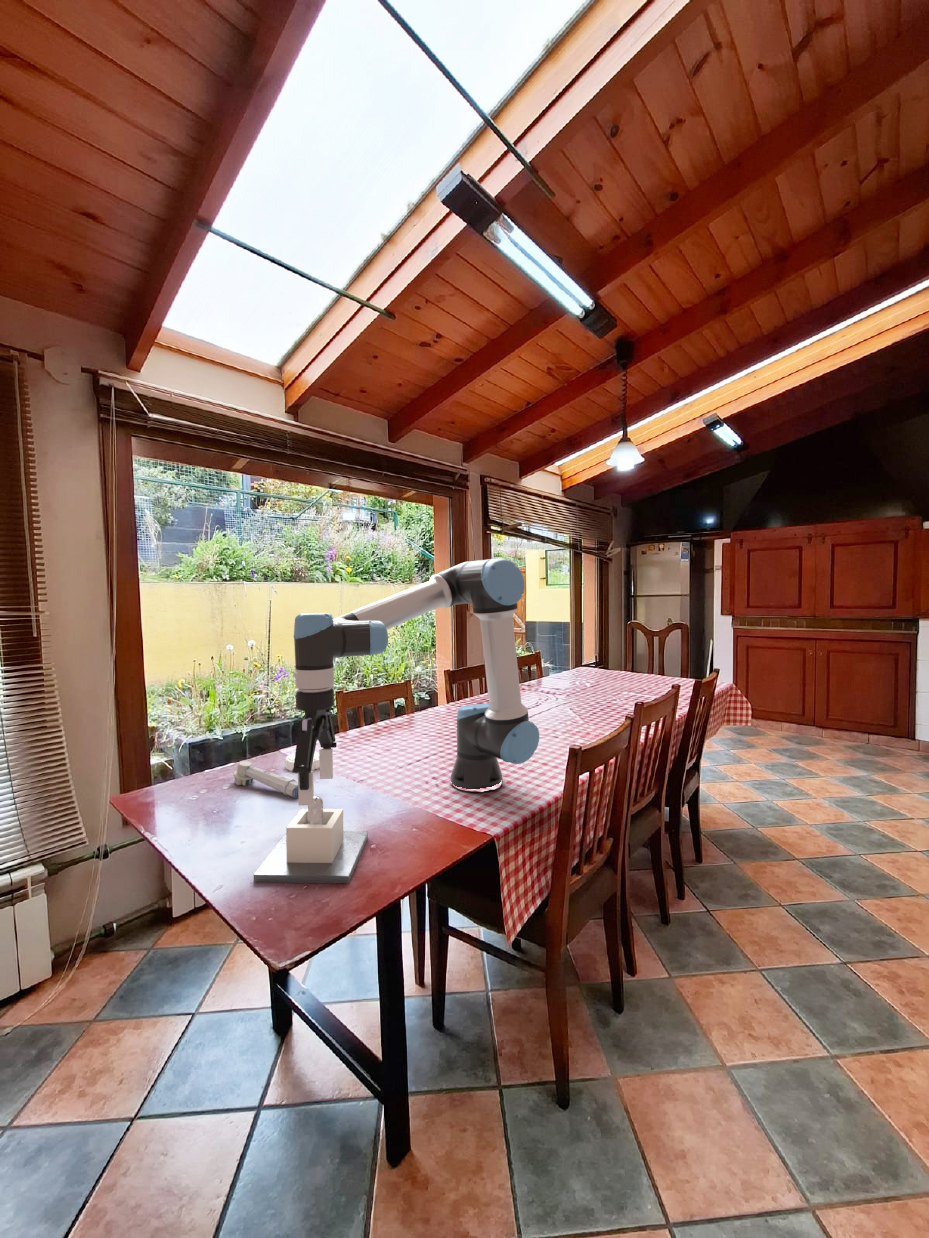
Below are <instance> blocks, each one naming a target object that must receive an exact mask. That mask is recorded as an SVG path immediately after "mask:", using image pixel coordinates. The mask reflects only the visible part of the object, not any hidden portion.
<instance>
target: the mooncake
mask: <svg viewBox="0 0 929 1238" xmlns="http://www.w3.org/2000/svg"><path fill="white" fill-rule="evenodd" d="M294 760H295V752H293V753H290V754H288V755H287V756H286V757H285V761H284V763H285V764H284V767H285V769H286V770H288V771H290V772H293V768H294ZM302 766H304V765H302ZM318 769H320V762H319V751H316V750H315V753H314V758H313V763H312V768H311V771H315V770H318Z"/></svg>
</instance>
